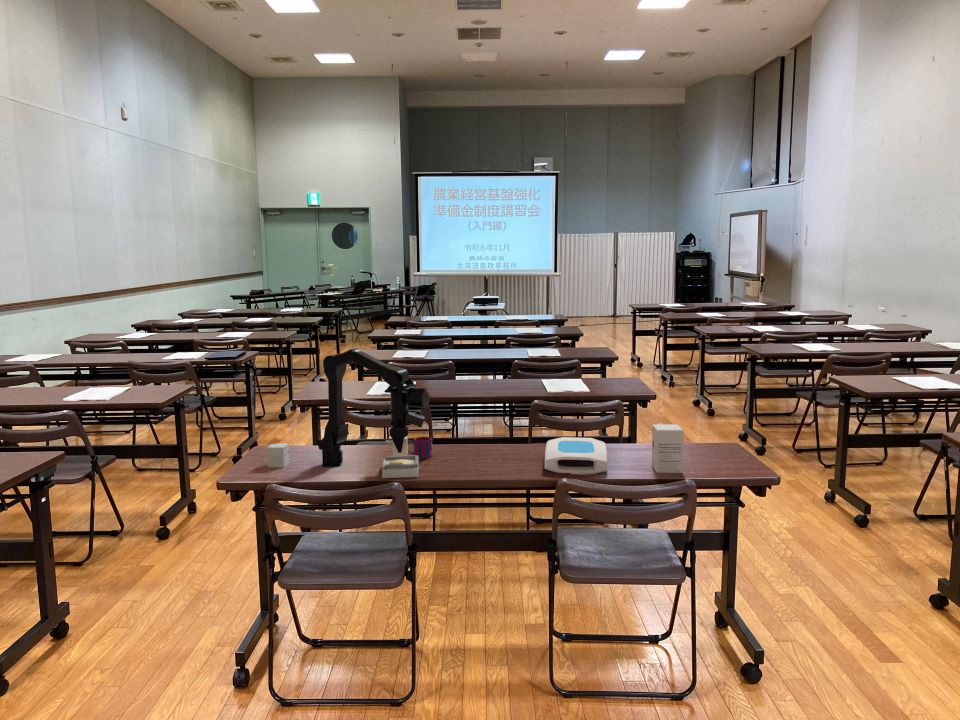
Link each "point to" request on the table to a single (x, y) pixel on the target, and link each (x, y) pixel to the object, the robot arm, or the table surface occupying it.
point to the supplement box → (667, 448)
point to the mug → (422, 447)
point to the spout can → (404, 448)
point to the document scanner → (576, 455)
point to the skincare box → (278, 455)
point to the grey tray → (400, 466)
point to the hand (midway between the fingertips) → (400, 450)
